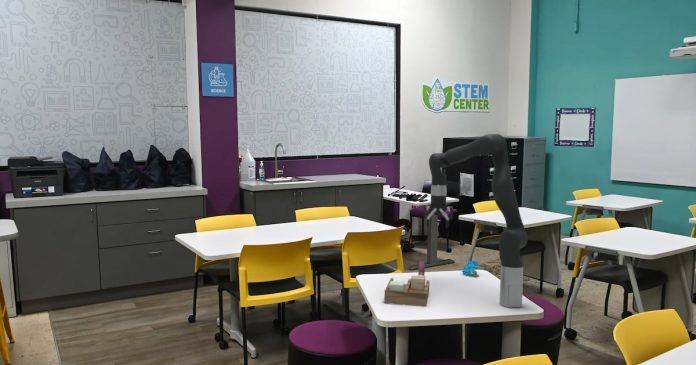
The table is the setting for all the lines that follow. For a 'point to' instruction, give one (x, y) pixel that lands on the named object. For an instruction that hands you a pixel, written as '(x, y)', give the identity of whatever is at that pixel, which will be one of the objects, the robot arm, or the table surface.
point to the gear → (470, 268)
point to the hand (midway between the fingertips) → (437, 227)
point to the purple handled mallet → (419, 278)
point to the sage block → (396, 286)
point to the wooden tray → (407, 295)
